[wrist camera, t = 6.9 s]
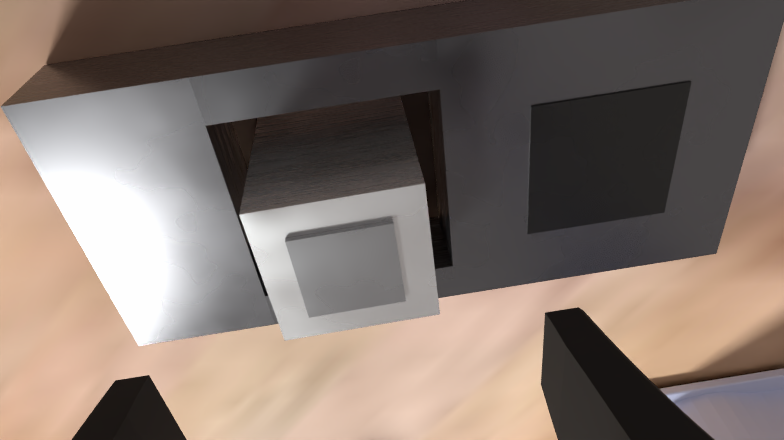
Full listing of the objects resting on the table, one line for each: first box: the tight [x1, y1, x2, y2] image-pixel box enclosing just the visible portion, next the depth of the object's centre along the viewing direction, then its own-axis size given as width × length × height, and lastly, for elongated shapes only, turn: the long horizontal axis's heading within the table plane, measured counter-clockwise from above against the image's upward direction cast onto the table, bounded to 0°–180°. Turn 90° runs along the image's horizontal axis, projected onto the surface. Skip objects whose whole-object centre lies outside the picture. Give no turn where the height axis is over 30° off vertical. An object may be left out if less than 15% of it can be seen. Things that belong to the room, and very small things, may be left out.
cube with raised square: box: [239, 96, 440, 340], centre depth 15 cm, size 4×4×5 cm
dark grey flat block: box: [1, 0, 784, 346], centre depth 16 cm, size 18×8×2 cm, turn 97°
